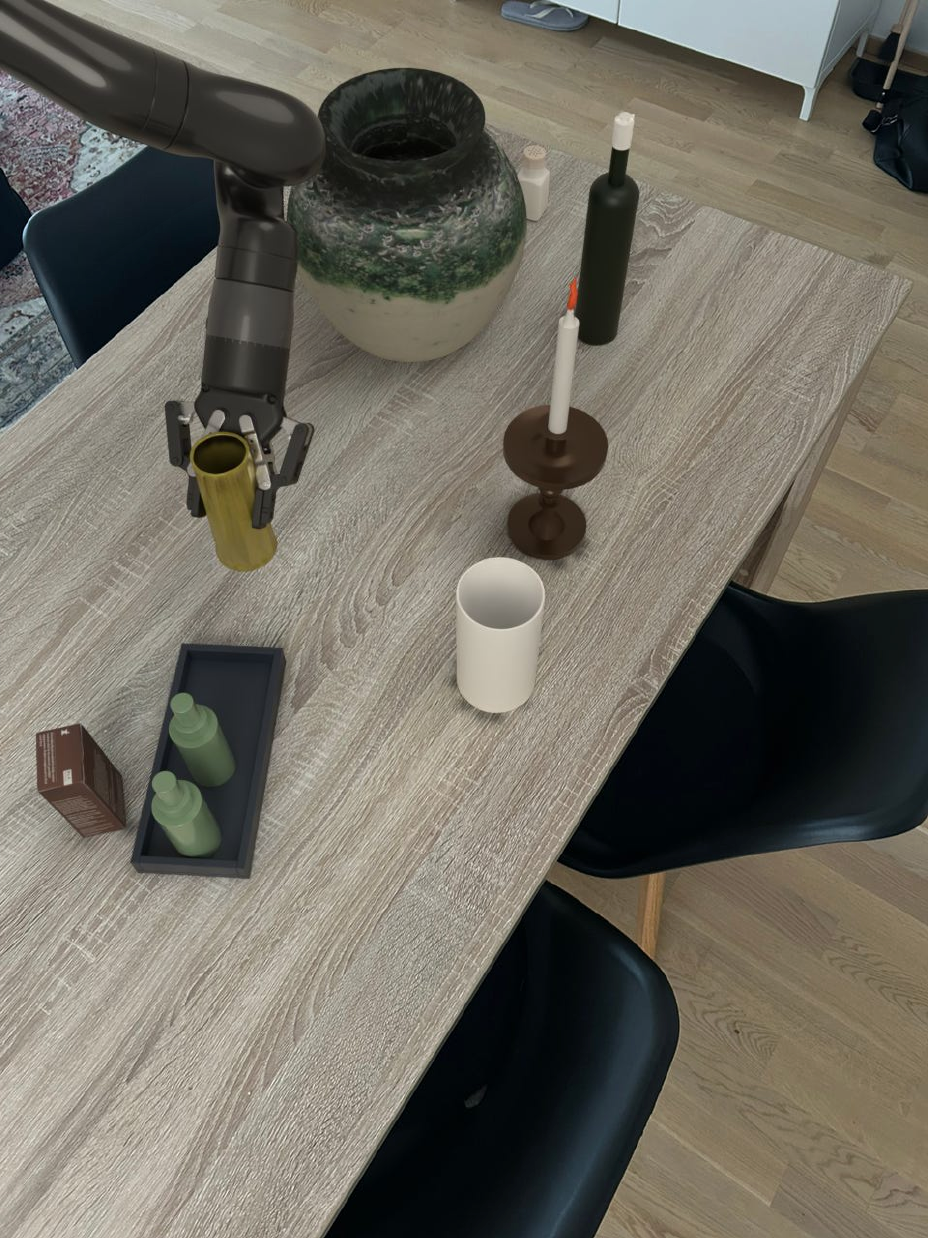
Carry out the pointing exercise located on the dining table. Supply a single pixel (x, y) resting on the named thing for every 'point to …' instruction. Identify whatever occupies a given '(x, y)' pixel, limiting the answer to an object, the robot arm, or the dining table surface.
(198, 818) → the bottles
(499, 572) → the cup
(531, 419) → the candlestick
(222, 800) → the tray
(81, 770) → the box
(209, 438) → the vase
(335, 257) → the vase
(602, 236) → the wine bottle
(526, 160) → the pepper shaker
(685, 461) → the dining table surface
